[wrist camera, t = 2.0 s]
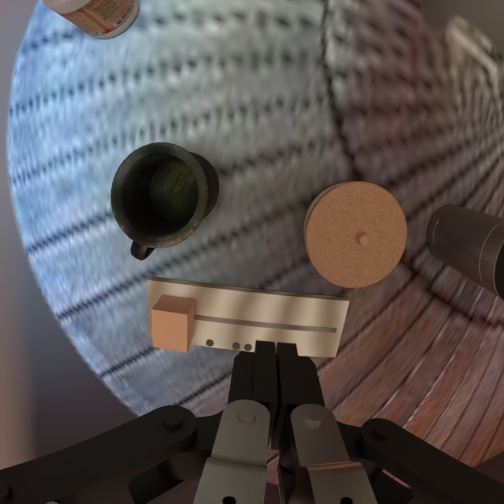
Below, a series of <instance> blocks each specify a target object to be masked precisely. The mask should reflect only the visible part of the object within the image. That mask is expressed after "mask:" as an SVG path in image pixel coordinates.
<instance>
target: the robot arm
mask: <svg viewBox="0 0 504 504" xmlns="http://www.w3.org/2000/svg"><path fill="white" fill-rule="evenodd" d="M427 242H428V247H429V249H430V251H431V253H432V254H433V255H434V257H436V258H437V259H439V260H440V261H442V262H444V263H445V264H447V265H449V266H450V267H452V268H453V269H455V270H457V271H458V272H460V273H462V274H463V275H465V276H467V277H468V278H470V279H471V280H473V281H475V282H476V283H478V284H479V285H481V286H483V287H484V288H486V289H487V290H489V291H491V292H492V293H494V294H495V295H497V296H498V297H500V298H501V299H502V300H504V219H502V218H499V217H495V216H492V215H489V214H485V213H481V212H478V211H474V210H470V209H467V208H463V207H459V206H455V205H447V206H444V207H442V208H440V209H439V210H438V211H437V212H436V213H435V214H434V215H433V217H432V219H431V221H430V223H429V226H428V230H427ZM270 437H271V449H272V450H279V460H278V463H277V475H278V483H279V490H280V499H281V504H504V484H502V483H500V482H498V481H496V480H494V479H492V478H490V477H488V476H487V475H485V474H483V473H481V472H479V471H477V470H475V469H473V468H471V467H469V466H468V465H466V464H464V463H462V462H460V461H458V460H457V459H455V458H453V457H451V456H449V455H448V454H446V453H444V452H442V451H441V450H439V449H437V448H435V447H434V446H432V445H430V444H428V443H427V442H425V441H423V440H422V439H420V438H418V437H417V436H415V435H413V434H412V433H410V432H408V431H407V430H405V429H403V428H402V427H400V426H398V425H397V424H395V423H394V422H392V421H390V420H387V419H382V418H374V419H370V420H368V421H366V422H365V423H364V424H363V425H362V427H356V426H351V425H347V424H343V423H340V422H338V421H336V419H335V416H334V414H333V413H332V412H331V411H330V410H329V409H327V408H325V403H324V399H323V395H322V390H321V386H320V382H319V378H318V375H317V369H316V365H315V364H314V363H313V361H312V360H311V359H310V358H309V357H305V356H298V351H297V345H296V343H284V342H277V344H276V349H275V342H272V341H261V340H256V342H255V350H254V352H245V351H241V352H240V353H239V354H238V355H237V356H236V357H235V358H234V364H233V371H232V377H231V384H230V391H229V397H228V403H227V405H226V407H225V408H224V409H223V410H222V411H221V412H219V413H217V414H215V415H212V416H207V417H195V415H194V414H193V413H192V412H191V411H189V410H188V409H186V408H184V407H181V406H175V405H168V406H163V407H160V408H157V409H155V410H153V411H151V412H149V413H147V414H145V415H143V416H140V417H138V418H136V419H134V420H132V421H129V422H127V423H125V424H123V425H121V426H118V427H116V428H114V429H111V430H109V431H107V432H105V433H102V434H100V435H97V436H95V437H92V438H90V439H88V440H85V441H83V442H80V443H78V444H75V445H72V446H70V447H67V448H64V449H62V450H59V451H56V452H54V453H51V454H48V455H45V456H42V457H40V458H37V459H34V460H31V461H28V462H24V463H21V464H18V465H15V466H12V467H8V468H5V469H2V470H0V504H160V503H162V502H163V501H165V500H167V499H168V498H170V497H172V496H173V495H175V494H176V493H178V492H180V491H181V490H183V489H185V488H186V487H187V486H189V485H191V484H192V483H194V482H195V480H196V479H200V478H201V480H200V483H199V487H198V490H197V494H196V497H195V501H194V504H263V502H264V492H265V484H266V474H267V466H266V455H267V449H268V445H269V441H270ZM384 469H385V470H386V471H388V472H389V473H391V474H392V475H394V476H395V477H397V478H398V479H400V480H401V481H403V482H404V483H406V484H408V485H409V486H411V487H412V489H413V490H410V489H408V488H406V487H405V486H403V485H402V484H400V483H399V482H397V481H396V480H394V479H392V478H391V477H389V476H388V475H386V474H385V473H383V472H382V471H383V470H384Z"/></svg>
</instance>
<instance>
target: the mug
mask: <svg viewBox="0 0 504 504" xmlns="http://www.w3.org/2000/svg"><path fill="white" fill-rule="evenodd" d="M218 192H219V182H218V177H217V174H216V172H215V170H214V168H213V166H212V165H211V164H210V163H209V162H208V161H207V160H206V159H205V158H203V157H202V156H200V155H198V154H195V153H192V152H188V151H187V150H185V149H184V148H182V147H180V146H177V145H175V144H171V143H163V142H158V143H151V144H148V145H145V146H142V147H140V148H138V149H137V150H135V151H134V152H132V153H131V154H130V155H129V156H128V157H127V158H126V159H125V160H124V161H123V162H122V164H121V165H120V166H119V168H118V170H117V172H116V174H115V177H114V180H113V183H112V188H111V206H112V210H113V214H114V217H115V219H116V221H117V223H118V225H119V227H120V228H121V229H122V231H123V232H124V233H125V234H126V235H127V236H128V237H129V238H130V239H132V240H133V243H132V246H131V255H132V256H134V257H135V258H137V259H139V260H144V259H146V258H147V257H148V256H149V255H150V254H151V253H152V251H153V250H154V249H155V248H166V247H170V246H173V245H176V244H178V243H180V242H182V241H184V240H185V239H187V238H188V237H189V236H190V235H191V234H192V233H193V232H194V231H195V230H196V229H197V227H198V226H199V224H200V223H201V221H202V219H203V218H205V217H206V216H207V215H208V214H209V213H210V212H211V210H212V209H213V207H214V205H215V203H216V201H217V197H218Z"/></svg>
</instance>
